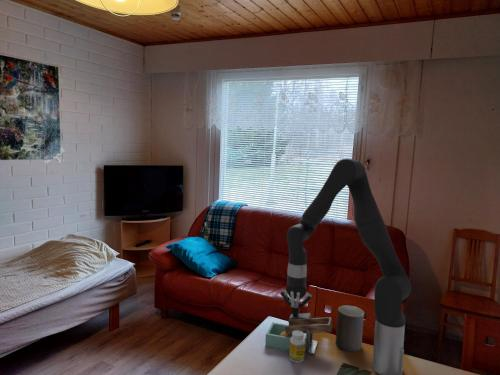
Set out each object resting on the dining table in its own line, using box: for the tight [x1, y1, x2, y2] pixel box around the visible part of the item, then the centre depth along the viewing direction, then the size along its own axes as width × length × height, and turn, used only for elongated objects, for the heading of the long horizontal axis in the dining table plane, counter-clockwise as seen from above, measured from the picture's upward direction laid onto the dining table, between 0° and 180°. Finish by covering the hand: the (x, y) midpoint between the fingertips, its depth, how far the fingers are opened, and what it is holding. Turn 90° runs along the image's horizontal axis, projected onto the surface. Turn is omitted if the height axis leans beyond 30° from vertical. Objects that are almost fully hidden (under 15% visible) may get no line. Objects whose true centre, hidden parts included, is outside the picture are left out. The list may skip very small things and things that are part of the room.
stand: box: [304, 329, 318, 357], centre depth 136 cm, size 5×9×9 cm, turn 162°
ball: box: [280, 331, 290, 337], centre depth 139 cm, size 4×4×4 cm
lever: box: [285, 312, 334, 334], centre depth 140 cm, size 18×15×3 cm
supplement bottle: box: [288, 330, 306, 364], centre depth 129 cm, size 5×5×10 cm
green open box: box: [264, 322, 292, 353], centre depth 139 cm, size 10×10×5 cm
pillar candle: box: [334, 304, 365, 352], centre depth 139 cm, size 10×10×15 cm
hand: (294, 315), depth 148 cm, fingers closed
